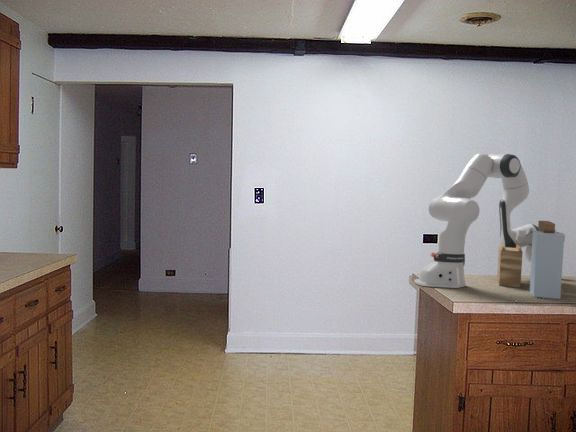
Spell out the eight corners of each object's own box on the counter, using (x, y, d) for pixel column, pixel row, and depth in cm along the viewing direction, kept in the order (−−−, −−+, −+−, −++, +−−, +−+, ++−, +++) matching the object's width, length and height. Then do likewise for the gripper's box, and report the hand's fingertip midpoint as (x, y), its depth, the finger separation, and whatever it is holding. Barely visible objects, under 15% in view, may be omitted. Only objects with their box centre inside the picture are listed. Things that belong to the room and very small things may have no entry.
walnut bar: (554, 233, 246) (555, 223, 245) (544, 232, 247) (544, 223, 246) (547, 230, 265) (548, 221, 265) (538, 229, 266) (538, 220, 266)
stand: (560, 299, 242) (564, 234, 240) (533, 296, 245) (537, 233, 243) (554, 292, 257) (558, 231, 256) (529, 290, 260) (533, 230, 259)
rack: (520, 287, 267) (522, 248, 266) (499, 285, 270) (501, 246, 269) (517, 281, 283) (519, 244, 282) (497, 280, 285) (499, 243, 284)
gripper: (514, 235, 282) (517, 222, 270) (561, 238, 276) (567, 225, 264) (514, 247, 279) (517, 234, 267) (561, 251, 273) (567, 238, 262)
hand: (542, 230), depth 266 cm, fingers open, 8 cm apart
